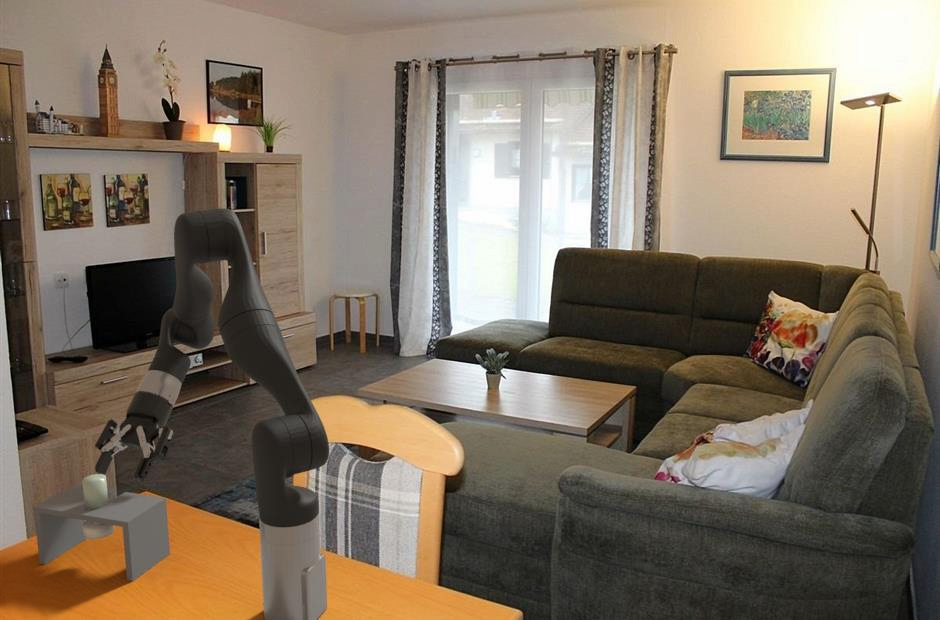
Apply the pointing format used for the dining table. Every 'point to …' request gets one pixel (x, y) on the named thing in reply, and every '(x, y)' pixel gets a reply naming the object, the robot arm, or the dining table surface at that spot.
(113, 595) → the dining table surface
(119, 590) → the dining table surface
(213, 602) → the dining table surface
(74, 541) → the slotted rack
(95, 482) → the wine glass
